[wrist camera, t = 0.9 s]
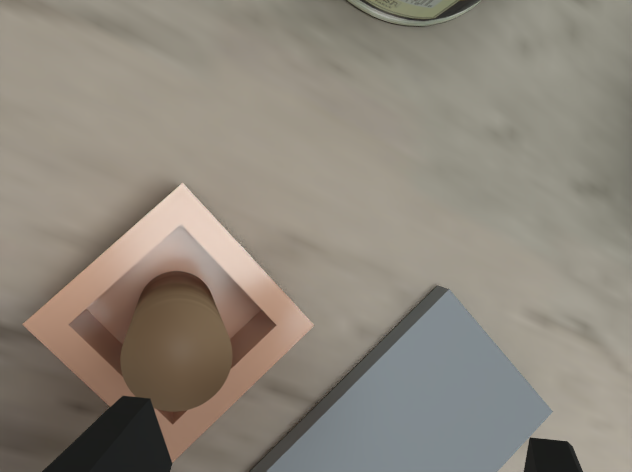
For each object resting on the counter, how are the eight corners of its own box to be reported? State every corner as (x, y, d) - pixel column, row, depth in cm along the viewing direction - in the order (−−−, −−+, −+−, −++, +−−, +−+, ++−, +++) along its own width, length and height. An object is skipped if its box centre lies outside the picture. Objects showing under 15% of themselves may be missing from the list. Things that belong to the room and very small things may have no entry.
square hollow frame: (171, 423, 25) (171, 464, 21) (47, 304, 23) (22, 324, 19) (293, 306, 26) (314, 325, 22) (181, 185, 24) (182, 182, 20)
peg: (174, 359, 24) (174, 433, 16) (121, 307, 24) (95, 358, 16) (228, 308, 24) (254, 357, 17) (178, 255, 24) (180, 281, 16)
